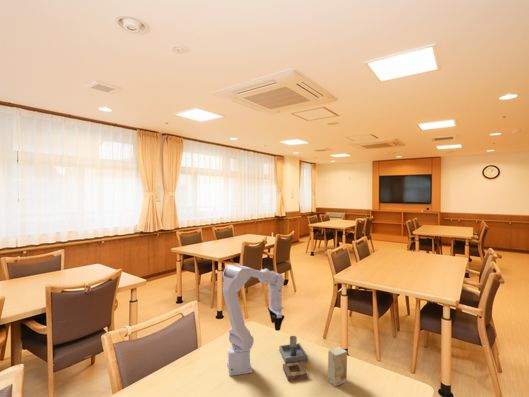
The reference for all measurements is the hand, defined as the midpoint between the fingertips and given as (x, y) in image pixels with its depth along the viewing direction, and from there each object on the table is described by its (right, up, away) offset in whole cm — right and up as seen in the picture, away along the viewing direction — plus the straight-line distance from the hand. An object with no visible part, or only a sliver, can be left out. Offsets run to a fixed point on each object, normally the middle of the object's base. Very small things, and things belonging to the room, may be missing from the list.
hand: (275, 326), depth 135 cm
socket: (+7, -11, -19) cm, 23 cm away
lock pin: (+8, -10, -6) cm, 14 cm away
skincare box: (+23, -11, -23) cm, 35 cm away
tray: (+8, -11, -6) cm, 14 cm away
